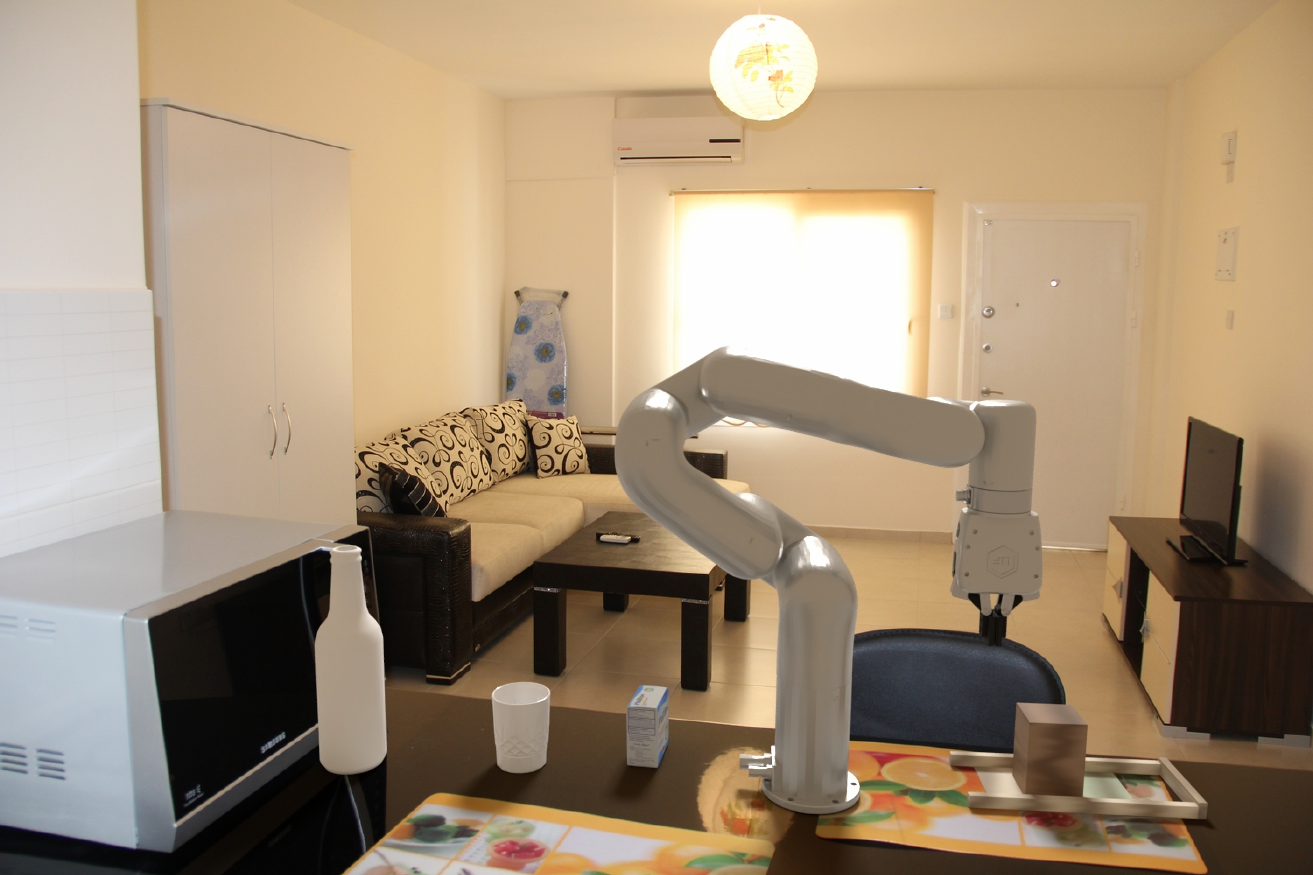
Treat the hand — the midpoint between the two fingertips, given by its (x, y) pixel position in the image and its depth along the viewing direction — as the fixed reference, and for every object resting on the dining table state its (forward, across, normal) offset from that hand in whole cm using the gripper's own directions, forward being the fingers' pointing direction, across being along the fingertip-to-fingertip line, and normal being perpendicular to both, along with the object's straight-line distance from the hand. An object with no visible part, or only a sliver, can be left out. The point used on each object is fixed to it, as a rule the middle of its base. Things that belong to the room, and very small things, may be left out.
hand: (991, 642), depth 125 cm
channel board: (+21, +11, 0) cm, 23 cm away
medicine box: (+21, -44, +7) cm, 49 cm away
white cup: (+20, -61, +3) cm, 65 cm away
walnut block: (+19, +8, 0) cm, 21 cm away
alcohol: (+20, -84, +1) cm, 87 cm away
